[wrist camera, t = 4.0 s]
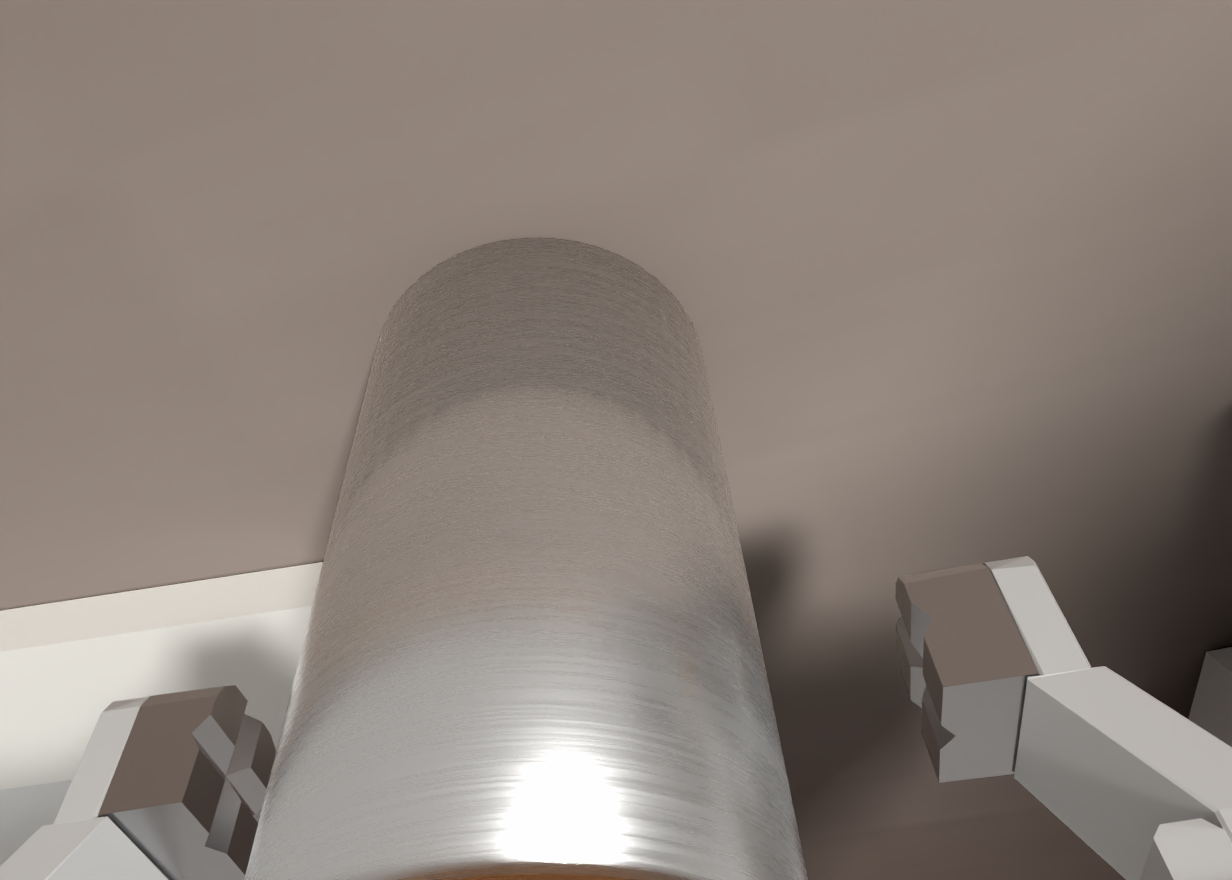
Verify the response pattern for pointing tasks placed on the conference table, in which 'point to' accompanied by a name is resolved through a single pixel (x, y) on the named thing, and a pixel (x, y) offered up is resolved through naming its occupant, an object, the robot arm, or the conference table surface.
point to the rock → (1215, 695)
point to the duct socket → (135, 671)
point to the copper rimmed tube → (532, 603)
